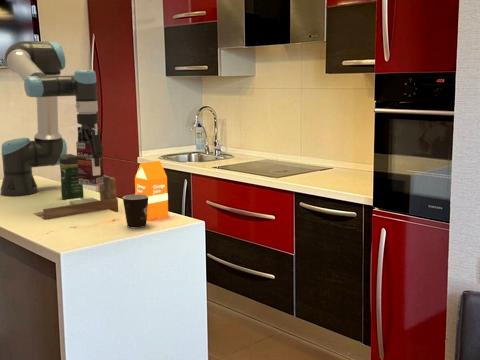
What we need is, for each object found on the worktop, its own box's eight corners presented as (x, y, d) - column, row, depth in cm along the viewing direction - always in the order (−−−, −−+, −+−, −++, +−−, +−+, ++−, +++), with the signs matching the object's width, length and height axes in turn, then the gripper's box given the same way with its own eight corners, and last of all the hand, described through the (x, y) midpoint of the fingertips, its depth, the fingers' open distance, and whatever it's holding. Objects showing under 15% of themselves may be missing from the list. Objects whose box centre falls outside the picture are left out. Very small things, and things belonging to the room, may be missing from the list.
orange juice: (136, 216, 216) (133, 162, 212) (155, 212, 222) (153, 159, 218) (148, 220, 210) (146, 164, 207) (168, 216, 216) (167, 161, 213)
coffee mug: (138, 221, 210) (136, 193, 208) (154, 224, 204) (153, 196, 203) (111, 227, 201) (110, 198, 199) (128, 232, 196) (127, 202, 194)
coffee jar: (86, 199, 246) (84, 154, 242) (67, 202, 241) (65, 156, 238) (77, 195, 253) (74, 152, 250) (59, 198, 249) (56, 153, 245)
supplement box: (77, 184, 222) (75, 142, 219) (86, 182, 226) (84, 140, 223) (95, 186, 218) (93, 143, 215) (104, 184, 222) (102, 141, 219)
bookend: (69, 200, 222) (92, 197, 227) (70, 208, 223) (92, 205, 228) (78, 204, 216) (101, 201, 221) (78, 212, 216) (101, 209, 222)
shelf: (32, 217, 216) (30, 183, 214) (104, 205, 233) (102, 174, 231) (45, 223, 207) (42, 188, 205) (118, 211, 224) (116, 178, 222)
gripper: (65, 112, 224) (69, 170, 228) (90, 115, 207) (94, 178, 211) (84, 111, 228) (87, 168, 232) (110, 113, 211) (113, 176, 215)
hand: (90, 173), depth 221 cm, fingers closed on supplement box, 9 cm apart
